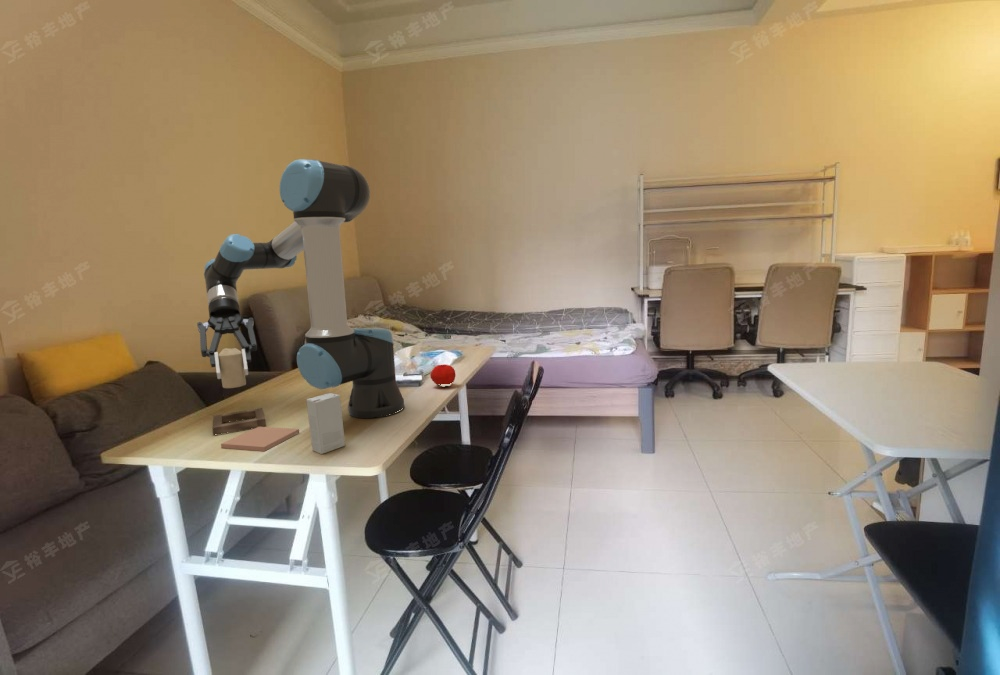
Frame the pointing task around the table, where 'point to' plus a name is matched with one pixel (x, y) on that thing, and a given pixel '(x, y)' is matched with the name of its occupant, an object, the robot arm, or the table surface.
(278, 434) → the terracotta tile
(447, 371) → the apple
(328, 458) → the table surface
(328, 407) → the skincare box
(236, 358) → the candle
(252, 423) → the walnut holder
